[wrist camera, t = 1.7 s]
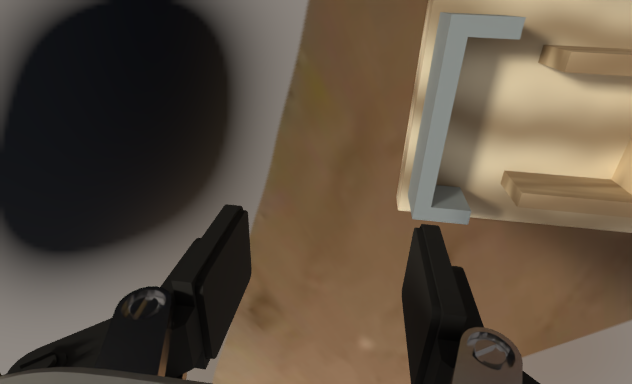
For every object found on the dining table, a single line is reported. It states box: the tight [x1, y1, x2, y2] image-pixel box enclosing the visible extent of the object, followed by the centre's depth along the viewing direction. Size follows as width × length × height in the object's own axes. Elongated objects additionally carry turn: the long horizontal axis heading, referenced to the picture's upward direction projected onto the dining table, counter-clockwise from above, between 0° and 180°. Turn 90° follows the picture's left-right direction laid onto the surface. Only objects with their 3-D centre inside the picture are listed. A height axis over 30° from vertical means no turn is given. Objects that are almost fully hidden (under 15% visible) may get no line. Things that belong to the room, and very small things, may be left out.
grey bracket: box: [408, 12, 526, 225], centre depth 26 cm, size 14×4×4 cm, turn 178°
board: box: [396, 0, 632, 233], centre depth 27 cm, size 18×20×6 cm
